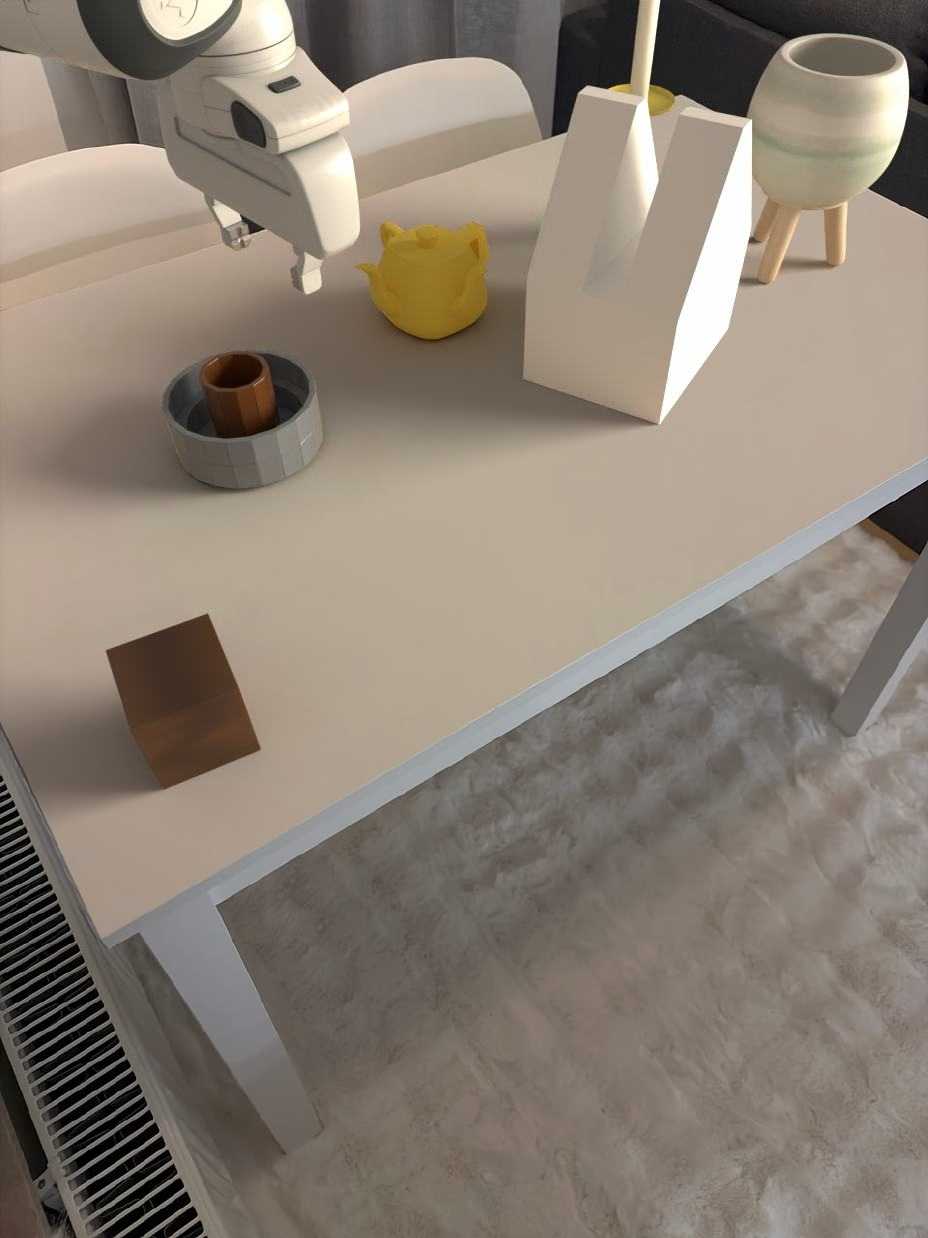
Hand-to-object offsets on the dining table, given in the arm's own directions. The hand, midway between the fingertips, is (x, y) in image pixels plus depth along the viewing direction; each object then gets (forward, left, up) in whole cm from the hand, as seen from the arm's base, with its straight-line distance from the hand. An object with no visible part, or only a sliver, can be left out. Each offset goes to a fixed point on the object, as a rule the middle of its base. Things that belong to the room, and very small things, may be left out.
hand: (272, 266), depth 74 cm
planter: (+64, +7, -20) cm, 67 cm away
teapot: (+21, +16, -20) cm, 33 cm away
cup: (-4, +4, -19) cm, 20 cm away
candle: (+51, +23, -20) cm, 59 cm away
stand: (-18, -26, -20) cm, 38 cm away
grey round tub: (-4, +4, -20) cm, 21 cm away
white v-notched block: (+37, 0, -20) cm, 42 cm away
